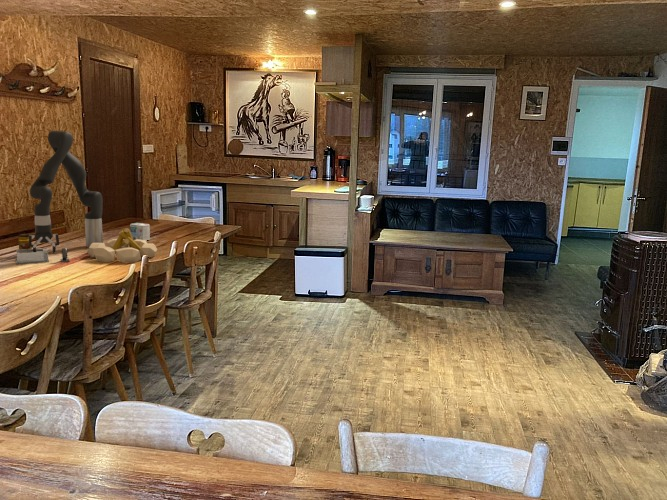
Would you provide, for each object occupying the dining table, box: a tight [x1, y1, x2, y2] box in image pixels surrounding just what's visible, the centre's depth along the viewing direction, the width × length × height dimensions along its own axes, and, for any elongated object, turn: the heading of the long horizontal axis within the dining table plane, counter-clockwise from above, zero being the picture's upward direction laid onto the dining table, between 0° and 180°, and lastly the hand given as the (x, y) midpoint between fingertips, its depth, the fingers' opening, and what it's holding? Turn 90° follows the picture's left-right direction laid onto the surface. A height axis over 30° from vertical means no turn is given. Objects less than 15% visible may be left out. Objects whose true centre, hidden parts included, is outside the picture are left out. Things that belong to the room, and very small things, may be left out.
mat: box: [15, 257, 50, 265], centre depth 286 cm, size 15×13×1 cm
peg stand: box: [60, 247, 71, 263], centre depth 287 cm, size 4×4×7 cm
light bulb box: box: [129, 222, 151, 242], centre depth 352 cm, size 11×7×11 cm, turn 68°
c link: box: [16, 247, 49, 263], centre depth 286 cm, size 14×10×5 cm
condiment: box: [15, 233, 33, 257], centre depth 295 cm, size 7×8×12 cm
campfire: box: [86, 227, 158, 264], centre depth 304 cm, size 35×34×17 cm
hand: (44, 253), depth 289 cm, fingers open, 8 cm apart
